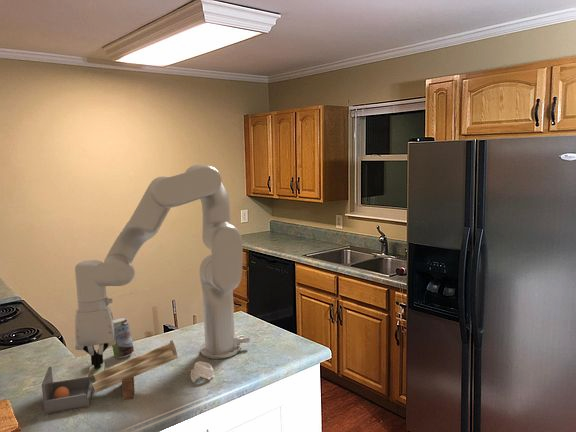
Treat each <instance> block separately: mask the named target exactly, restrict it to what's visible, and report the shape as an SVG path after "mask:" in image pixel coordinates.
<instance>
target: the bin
mask: <svg viewBox="0 0 576 432" xmlns="http://www.w3.org/2000/svg"><path fill="white" fill-rule="evenodd" d="M53 378H54V377H53V370H52V366H48V368H47V370H46V373H45V376H44V378H43V380H42V382H41V383H42V384H41V390H42V391H41V393H42V400H43V409H44V415H45V416H47V415H46V414H48V415H53V414H59V413H65V412H70V411H75V409H76V410H80V409H86V408H90V406H91V400H92V394H93V390H94V388H93V385H92V383H93V380H91V381H90V379H89V377H88V376H84V377H77V378H72V379H64V380H59V381H58V380H57V381H53ZM59 387H66V388H68V390H69V396H68V397H63V398H57V399H55V398H54V392H55V390H56V389H57V388H59ZM69 410H70V411H69Z"/></svg>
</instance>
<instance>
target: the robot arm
mask: <svg viewBox="0 0 576 432" xmlns="http://www.w3.org/2000/svg"><path fill="white" fill-rule="evenodd" d="M228 194H229V193H228V192H227V189H226V187H225V186H224V183H223V182H222V175H221V173H220V171H219V170H218V169H217V168H216V167H214V166H212V165H206V164H194V165H190V167H188V168H187V169H186V171H185V172H183V173H179V174H175V175H171V176H158V177H155V178H154V179H152V181H150V183H149V184H148V186H147V188H146V190H145V192H144V194H143V195H142V197H141V198H140V201H139V203H138V205H137V207H136V208H135V210H134V211H133V214H132V215H131V217H130V219H129V220H128V222H127V223H126V225H124V227H123V228H122V230H121V232H120V233H119V234H118V236H117V237H116V238H115V240H114V242H113V244H112V246H110V247H111V248H109V251H108V253H107V255H106V256H105V259H104V261H103V262H102V261H101V260H98V259H89V260H88V259H87V260H83V261H80V262H78V263H77V264H76V265H75V267H74V272H75V273H74V274H75V285H76V287H75V288H76V297H77V309H76V310H75V315H74V316H75V317H74V340H75V347H74V349H75V350H76V351H84V352H86V353H87V354H88V355H89V356H90V361H91V366H94V369H96V368H97V367H98V368H100V367H101V364H103V361H104V355H103V353H104V352H105V350H107V349H108V348H109V347H112V345H115V344H116V340H115V337H114V335H115V331H114V322H113V320H114V317H113V316H114V315H113V311H112V308H111V306H110V304H113V298H109V297H108V296H107V287H123V286H126V285H128V284H130V283H131V282H132V281H133V279H134V278H135V275H136V271H135V268H134V267H135V266H134V265H133V264H132V263H133V261H134V259H135V257H136V255H137V254H138V252H139V251H140V249H141V248H142V246H143V245H145V243H146V242H148V241H149V240H151V239H152V238H154V236H156V235H157V234H158V232H159V230H160V228H161V227H162V224H163V223H164V221H165V219H166V218H167V216H168V214H169V212H170V210H171V209H172V208H175V207H180V206H183V205H187V204H189V203H192V202H194V201H198V200H200V202H201V209H202V210H201V211H202V238H201V239H202V242H203V244H204V246H205V247H206V248H208V249H209V250H211V254H208V255H207V256H205V257H204V258H203V259H202V260H201V263H200V266H199V279H200V284H201V286H200V287H201V291H202V292H201V293H202V304H203V305H202V306H203V307H202V308H203V311H202V312H203V323H204V324H203V325H204V326H203V327H204V328H203V329H204V344H203V345H202V346H201V347H200V354H201V355H202V357H205V358H207V359H215V360H217V359H227V358H230V357H233V356H235V355H237V354H238V353H239V352H240V350H241V344H246V343H250V340H251V339H250V336H245V335H244V334H242V335H241V334H240V335H236V334H235V313H234V312H235V311H234V309H235V307H234V293H233V291H234V290H235V289H236V288H238V287H239V285H240V284H241V283H240V282H241V281H242V277H243V251H244V250H243V245H244V244H243V238H242V234H241V232H240V230H239V229H238V228H237V227H236V226H235V225H233V224H232V223H231V204H230V198H229V195H228ZM97 345H98V349H97V351H96V349H95V346H97Z"/></svg>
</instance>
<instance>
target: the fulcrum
mask: <svg viewBox="0 0 576 432" xmlns="http://www.w3.org/2000/svg"><path fill="white" fill-rule="evenodd" d="M121 393H122V394H121V395H122V398H123V401H129V400H130V401H131V400H134V396H135V377H131V378H125V379H122V382H121Z"/></svg>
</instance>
